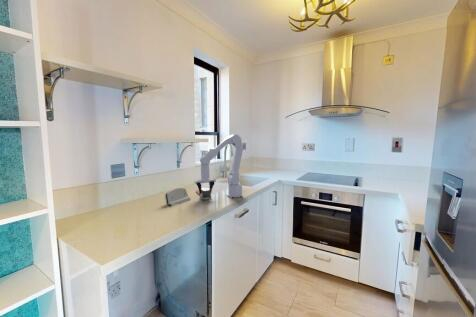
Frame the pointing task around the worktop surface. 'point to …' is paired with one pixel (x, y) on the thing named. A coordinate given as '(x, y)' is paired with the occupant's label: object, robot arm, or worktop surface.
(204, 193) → the brushed grey cube
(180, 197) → the white electronic device
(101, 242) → the worktop surface
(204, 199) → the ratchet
